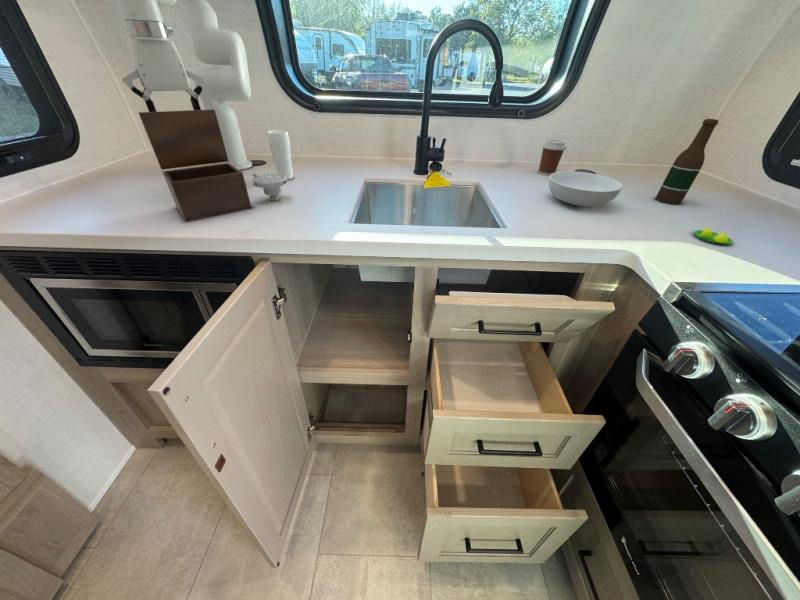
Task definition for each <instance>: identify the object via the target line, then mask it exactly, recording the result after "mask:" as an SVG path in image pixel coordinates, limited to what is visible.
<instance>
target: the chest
mask: <svg viewBox="0 0 800 600" xmlns="http://www.w3.org/2000/svg"><path fill="white" fill-rule="evenodd" d="M162 175H163V177H164V180H165V182H166V184H167V187H168V189H169V192H170V195H171V197H172V200H173V202H174V205H175V207H176V209H177V210H178V212H179V214H180V215H181V216H182V218H183V219H184V221H185V222H191V221H196V220H201V219H207V218H211V217H214V216H215V217H216V216H220V215H225V214H231V213H235V212H240V211H246V210H249V209H250V210H251V209H252V207H253V206H252V204H251V199H250V196H249V192H248V189H247V184H246V181H245V177H244V173H243V172H242V170H238V169H237V168H235V167H234V166H232V165H231V164H230V163H224V164H218V163H215V164H207V165H199V166H191V167H183V168H175V169H167V170H162Z"/></svg>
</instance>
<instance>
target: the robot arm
mask: <svg viewBox="0 0 800 600" xmlns="http://www.w3.org/2000/svg"><path fill="white" fill-rule="evenodd" d="M115 1H116V2H117V5H118V7H119V10H120V12H121V15H122V17H123V20H124V23H125V26H126V28H127V32H128V35H129V36H130V38H128V39H127V43H128V48H129V53H130V56H131V58H132V62H133V65H134V68H135V69H134V70H133V71H131V72H129V73H128V74H126V75H125V76H124V77H122V78H121V81H122V83H124V84H125V86H127V88H128V89H130V91H131V92H132V93H134V94H135V95H136V96H138V97H140V98H141V99H143V100H144V103H145V105H146V108H147V110H148V112H158V110H157V109H156V107H155V103H154V101H153V100H152V99H151V96H152V94H153V92H172V91H174V92H175V91H176V92H177V91H178V92H181V91H185V92H186V93H187V94H188V95H190V98H189V100H190V103H191V106H192V110H202V108H201V105H200V102H199V98H200V101H201V103H202V107H203V110H209V109H214V110H215V112H216V116H217V120H218V124H219V127H220V131H221V135H222V138H223V142H224V146H225V149H226V153H227V157H228V160H229V162H220V163H217V164H224V163H230V164H231V165H232V166H234V167H235V168H237V169H238V170H240V171H242V170H247V169H250V168H252V167H253V162H252V161H250V160H248V159H247V155H246V150H245V146H244V142H243V139H242V135H241V130H240V126H239V121H238V118H237V115H236V113H235V111H234V110H233V109H232V108H231V106H229V105H228V104H227V102H247V101H249V100H250V99H251V97H252V87H251V78H250V71H249V65H248V64H249V63H248V57H247V51H246V47H245V44H244V41H243V39H242V37H241V36H240V34H239V33H238V32H236V31H234V30H231V29H222V28H221V29H220V27H219V21H218V17H217V13H216V11H215V10H214V8H213V6H211V4H210V3H209V2H208V1H207V0H180V1H181V2H182V5H183V6H184V8H185V12H186V15H187V20H188V26H189V31H190V38H191V43H192V49H193V53H194V55H195V58H196V59H197V60H198V61H199V62H201V63H202V64H205V65H211V66H200V67H197V68H195V69H194V70H193V72H190V71H188V70H187V69H185V66H184V63H183V61H182V58H181V56H180V53H179V52H178V49H177V47H176V45H175V43H174V41H173V40H170V36H172V35H173V36H174V35H175V31H174V28H173V27H172V26H171V27H169V26H168V25H166V23H165V22H164V18H163V17H162V13H161V10H160V8H169V7H172V6H174V5H175V4H176V3H177V1H178V0H115ZM220 66H222V67H220ZM223 66H229V67H223ZM189 78H190V79H192V82H193V85H194V89H192V88H191V83H190V79H189ZM136 79H139V81H140V84H141V86H142V87H143V90H142V91H141V90H140V89H138V88H137V87H136V86H135V85H134V84H133V81H135V80H136Z"/></svg>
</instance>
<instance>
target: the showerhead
mask: <svg viewBox="0 0 800 600" xmlns="http://www.w3.org/2000/svg"><path fill="white" fill-rule="evenodd" d="M252 176H253V178H252V182H253V186H255V187H257V188H261V189H263V193H264V195H266V196H269V198H270V201H271V202H275V201H278V200H279V195H280V194H282V188H281V187H283V186H286V185H287V184H288V180H287V177H286V176H284V175H280V174H277V173H272V172H271V173H266V174H265V173H263V174H259V175H258V174H257V173H254V172H253V174H252Z"/></svg>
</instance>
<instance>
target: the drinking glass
mask: <svg viewBox="0 0 800 600" xmlns="http://www.w3.org/2000/svg"><path fill="white" fill-rule="evenodd" d="M266 137H267V142H268V146H269V149H270V153H271V156H272V161H273V164H274V167H275V171H276V174H280V175H284V176H286V177H287V181H288V180H292V179H293V178H294V172H293V162H292V149H291V141H290V135H289V132H288V131H287V130H283V129H273V130H268V131H267V132H266Z"/></svg>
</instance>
